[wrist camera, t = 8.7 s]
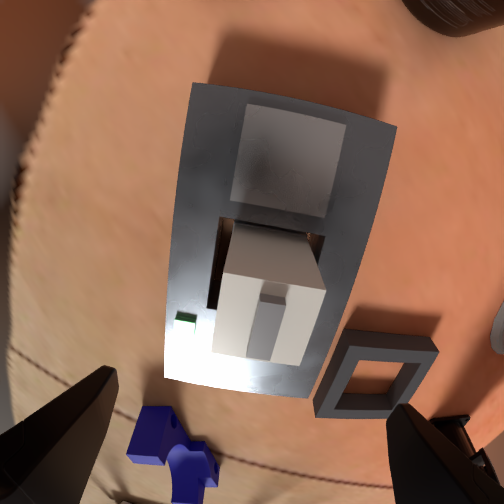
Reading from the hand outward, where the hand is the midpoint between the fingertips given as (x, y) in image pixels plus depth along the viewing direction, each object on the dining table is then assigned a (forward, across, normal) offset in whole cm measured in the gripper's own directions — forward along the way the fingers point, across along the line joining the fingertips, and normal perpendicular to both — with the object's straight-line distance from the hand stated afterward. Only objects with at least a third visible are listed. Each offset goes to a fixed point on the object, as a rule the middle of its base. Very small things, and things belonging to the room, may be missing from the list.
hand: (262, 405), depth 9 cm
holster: (+12, -11, +9) cm, 19 cm away
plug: (+12, 0, 0) cm, 12 cm away
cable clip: (+13, +4, +23) cm, 26 cm away
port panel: (+12, 0, 0) cm, 12 cm away
